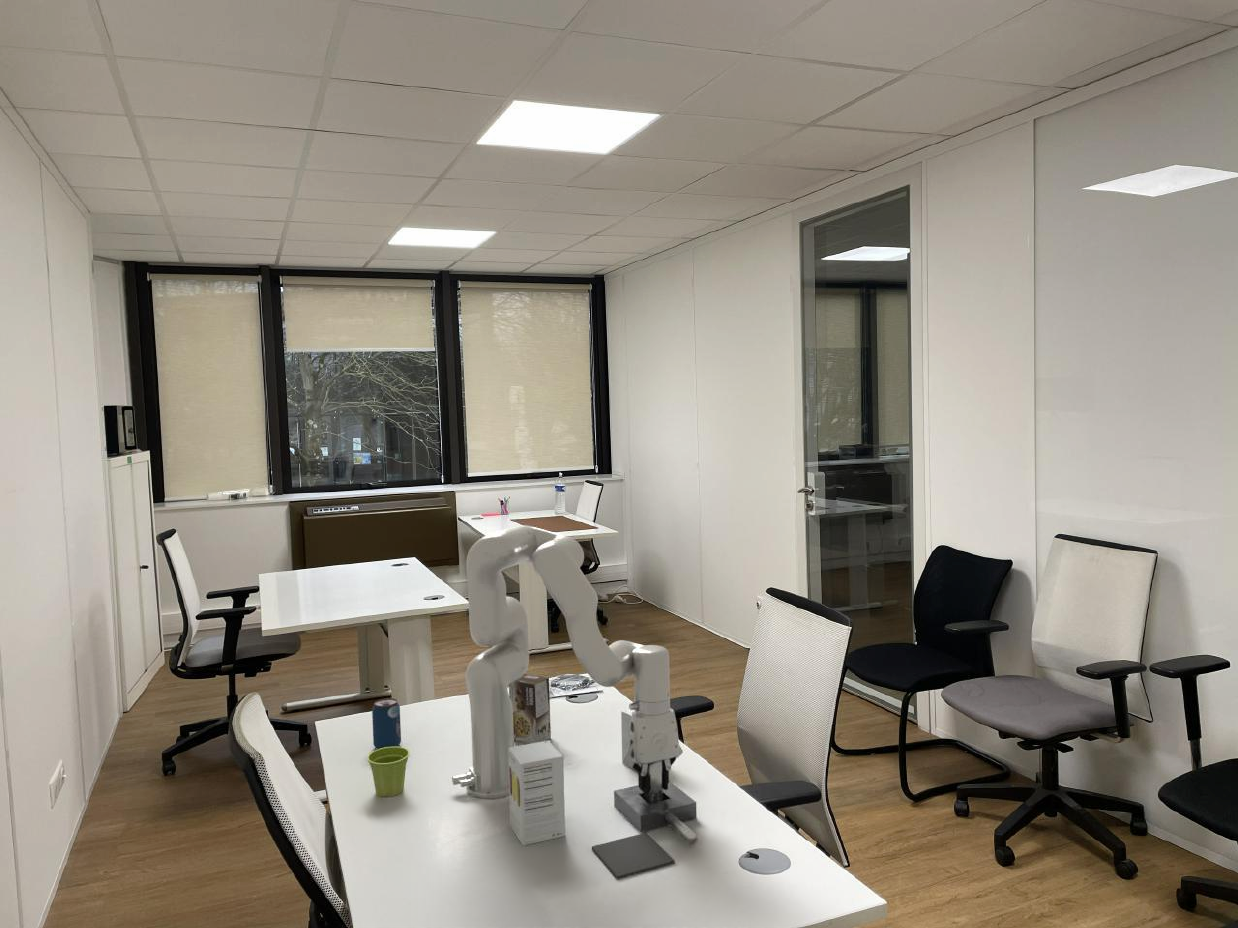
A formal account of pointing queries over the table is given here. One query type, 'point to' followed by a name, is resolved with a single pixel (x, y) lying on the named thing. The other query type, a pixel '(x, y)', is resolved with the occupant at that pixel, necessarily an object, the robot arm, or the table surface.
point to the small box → (626, 732)
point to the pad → (632, 855)
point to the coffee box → (531, 708)
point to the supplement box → (536, 792)
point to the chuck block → (658, 810)
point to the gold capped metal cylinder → (655, 782)
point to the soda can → (386, 723)
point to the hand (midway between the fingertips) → (653, 788)
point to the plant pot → (389, 769)
